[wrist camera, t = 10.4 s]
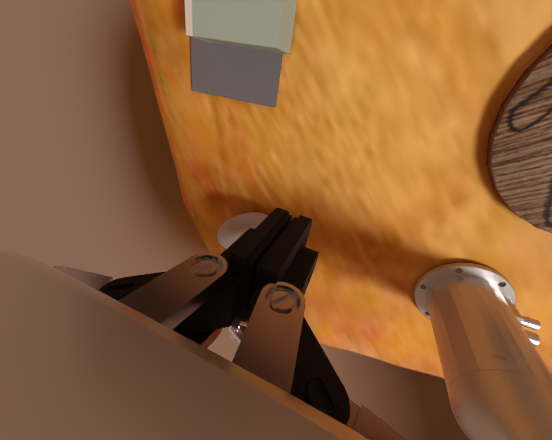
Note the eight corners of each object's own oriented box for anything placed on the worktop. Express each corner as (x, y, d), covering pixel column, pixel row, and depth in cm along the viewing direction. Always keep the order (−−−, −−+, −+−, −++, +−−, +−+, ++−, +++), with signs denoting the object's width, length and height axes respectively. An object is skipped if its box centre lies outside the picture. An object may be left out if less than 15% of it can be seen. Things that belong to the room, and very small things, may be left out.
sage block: (283, -13, 24) (183, -21, 27) (276, 47, 27) (185, 35, 29) (297, 3, 28) (209, -5, 31) (289, 54, 31) (209, 42, 34)
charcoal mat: (299, -76, 26) (298, -79, 25) (275, 107, 35) (274, 107, 34) (189, -77, 29) (187, -80, 28) (194, 90, 38) (192, 90, 38)
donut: (237, 225, 47) (207, 253, 39) (233, 209, 46) (201, 235, 38) (284, 225, 43) (263, 257, 35) (281, 208, 42) (258, 236, 34)
